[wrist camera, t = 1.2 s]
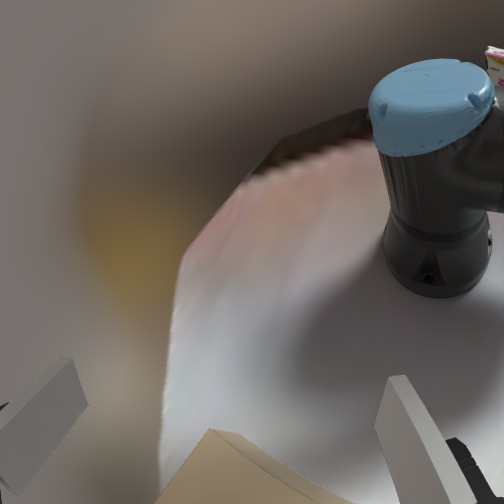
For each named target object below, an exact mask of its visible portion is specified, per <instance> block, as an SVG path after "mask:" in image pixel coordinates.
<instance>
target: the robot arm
mask: <svg viewBox="0 0 504 504" xmlns="http://www.w3.org/2000/svg"><path fill="white" fill-rule="evenodd" d="M369 113H370V118H371V122H372V126H373V130H374V132H373V139H374V144H375V146H376V148H377V149H378V153H379V157H380V161H381V165H382V169H383V173H384V177H385V182H386V186H387V191H388V195H389V200H390V205H391V209H390V213H389V217H388V221H387V224H386V227H385V230H384V250H385V255H386V260H387V263H388V266H389V268H390V270H391V272H392V273H393V275H394V276H395V277H396V279H397V280H398V281H399V282H400V283H401V284H402V285H404V286H405V287H406V288H408V289H409V290H411V291H413V292H415V293H417V294H420V295H423V296H427V297H433V298H447V297H452V296H456V295H459V294H461V293H463V292H465V291H467V290H469V289H470V288H472V287H473V286H474V285H475V284H476V283H477V282H478V281H479V280H480V279H481V277H482V276H483V274H484V273H485V271H486V269H487V266H488V263H489V260H490V256H491V252H492V234H491V229H490V224H489V220H488V215H487V211H491V212H498V213H504V86H497V85H493V83H492V81H491V80H490V78H489V76H488V74H487V73H486V72H485V71H484V70H483V69H481V68H480V67H478V66H476V65H474V64H472V63H468V62H465V63H461V62H460V61H459V60H455V59H434V60H426V61H421V62H417V63H414V64H410V65H407V66H404V67H402V68H400V69H398V70H396V71H394V72H392V73H391V74H389V75H387V76H386V77H385V78H384V79H382V81H380V82H379V83H378V84H377V85H376V87H375V88H374V90H373V92H372V94H371V96H370V100H369ZM87 406H88V402H87V400H86V397H85V394H84V392H83V389H82V386H81V383H80V380H79V377H78V374H77V371H76V368H75V365H74V361H73V358H69V357H65V356H59V357H58V358H57V359H56V360H55V361H54V362H52V364H50V365H49V366H48V367H47V368H46V369H45V370H44V371H43V372H42V373H40V374H39V375H38V376H37V377H36V378H35V379H34V380H33V381H32V382H30V383H29V384H28V385H27V386H26V387H25V388H24V389H23V390H22V391H21V392H20V393H19V394H18V395H17V396H16V397H14V398H13V400H12V401H10V402H8V403H6V404H4V405H2V406H0V482H1V483H2V484H3V485H4V486H5V488H6V489H7V490H9V491H10V492H12V493H13V494H14V495H16V496H18V497H19V498H20V497H21V496H22V495H23V493H24V492H25V490H26V489H27V487H28V486H29V485H30V483H31V482H32V480H33V479H34V478H35V476H36V475H37V473H38V472H39V471H40V469H41V468H42V466H43V465H44V463H45V462H46V461H47V460H48V458H49V457H50V455H51V454H52V453H53V451H54V450H55V449H56V447H57V446H58V445H59V443H60V442H61V441H62V439H63V438H64V437H65V435H66V434H67V433H68V431H69V430H70V429H71V427H72V426H73V425H74V423H75V422H76V421H77V420H78V418H79V417H80V416H81V414H82V413H83V412H84V410H85V409H86V408H87ZM374 428H375V431H376V433H377V436H378V439H379V442H380V445H381V447H382V450H383V453H384V456H385V459H386V462H387V464H388V467H389V470H390V473H391V476H392V479H393V482H394V485H395V488H396V491H397V495H398V498H399V501H400V504H504V498H503V497H496V496H495V495H494V493H493V492H492V490H491V488H490V486H489V485H488V483H487V481H486V479H485V477H484V476H483V474H482V472H481V470H480V469H479V467H478V465H477V466H476V462H475V460H474V458H473V457H471V456H472V455H471V453H470V452H469V450H468V448H467V447H466V445H465V444H463V443H462V442H461V441H459V440H458V439H457V438H456V437H455V438H452V439H448V440H444V438H443V436H442V435H441V433H440V431H439V429H438V428H437V426H436V424H435V423H434V421H433V419H432V417H431V416H430V414H429V412H428V411H427V409H426V407H425V406H424V404H423V402H422V401H421V399H420V397H419V396H418V394H417V393H416V391H415V389H414V388H413V386H412V385H411V383H410V381H409V380H408V378H407V377H406V375H405V374H404V375H396V376H388V379H387V383H386V386H385V390H384V393H383V397H382V400H381V403H380V407H379V410H378V413H377V416H376V419H375V422H374ZM0 504H2V501H1V491H0Z"/></svg>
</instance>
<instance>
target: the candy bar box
mask: <svg viewBox="0 0 504 504" xmlns="http://www.w3.org/2000/svg"><path fill="white" fill-rule="evenodd" d="M485 58H486V65H487V74H488V76H489V78H490V80H491V81H492V83H493V85H497V86H504V50H503V49H500V48H495V47H491V46H488V48H487V50H486V53H485Z"/></svg>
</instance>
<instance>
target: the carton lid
mask: <svg viewBox="0 0 504 504" xmlns="http://www.w3.org/2000/svg"><path fill="white" fill-rule="evenodd" d="M154 504H319V503H317V502H316V501H314V500H312V499H310V498H309V497H307V496H305V495H304V494H302V493H300V492H299V491H297V490H295V489H294V488H292V487H291V486H289V485H287V484H286V483H284V482H283V481H281V480H280V479H278V478H277V477H275V476H274V475H272V474H271V473H269V472H268V471H266V470H265V469H263V468H262V467H260V466H259V465H258V464H256V463H255V462H253V461H252V460H251V459H249V458H248V457H247V456H245V455H244V454H242V453H241V452H240V451H238V450H237V449H236V448H235V447H233V446H232V445H231V444H229V443H228V442H227V441H226V440H224V439H223V438H222V437H221V436H219V435H218V434H217V433H216V432H214V431H213V430H212V429H208V430H207V432H206V433H205V435H204V436H203V438H202V439H201V440H200V442H199V443H198V445H197V446H196V448H195V449H194V450H193V452H192V453H191V454H190V456H189V457H188V459H187V460H186V461H185V463H184V464H183V465H182V467H181V468H180V470H179V471H178V472H177V474H176V475H175V476H174V478H173V479H172V480H171V482H170V483H169V484H168V486H167V487H166V488H165V489H164V491H163V492H162V493H161V495H160V496H159V497H158V499H157V500H156V501H155V503H154Z"/></svg>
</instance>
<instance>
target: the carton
mask: <svg viewBox="0 0 504 504" xmlns="http://www.w3.org/2000/svg"><path fill="white" fill-rule="evenodd" d="M213 431H214V432H216V433H217V434H218V435H219V436H221V437H222V438H223V439H224V440H226V441H227V442H228V443H229V444H231V445H232V446H233V447H235V448H236V449H237V450H238V451H240V452H241V453H242V454H244V455H245V456H247V457H248V458H249V459H251V460H252V461H253V462H255V463H256V464H258V465H259V466H260V467H262V468H263V469H265V470H266V471H268V472H269V473H271V474H272V475H274V476H275V477H277V478H278V479H280V480H281V481H283V482H284V483H286V484H287V485H289V486H291V487H292V488H294V489H295V490H297V491H299V492H300V493H302V494H304V495H305V496H307V497H309V498H310V499H312V500H314V501H316V502H317V503H319V504H356V503H354V502H352V501H349V500H347V499H345V498H343V497H342V496H340V495H338V494H336V493H334V492H332V491H330V490H328V489H326V488H325V487H323V486H321V485H319V484H317V483H316V482H314V481H312V480H310V479H309V478H307V477H305V476H303V475H302V474H300V473H298V472H297V471H295V470H294V469H292V468H290V467H289V466H287V465H286V464H284V463H282V462H281V461H279V460H278V459H276V458H275V457H273V456H272V455H270V454H269V453H267V452H266V451H264V450H263V449H261V448H260V447H258V446H257V445H256V444H254V443H253V442H251V441H250V440H249V439H247V438H246V437H244V436H243V435H242V434H239V433H232V432H226V431H220V430H214V429H213Z"/></svg>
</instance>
